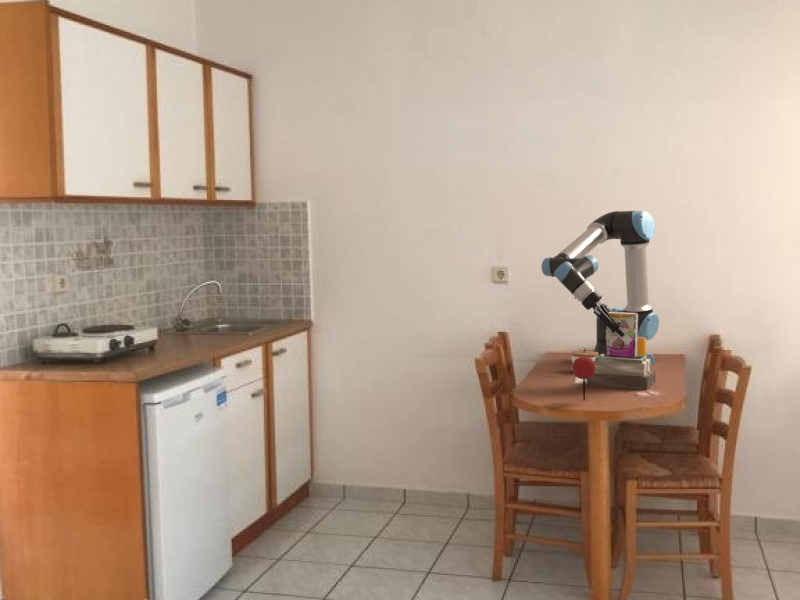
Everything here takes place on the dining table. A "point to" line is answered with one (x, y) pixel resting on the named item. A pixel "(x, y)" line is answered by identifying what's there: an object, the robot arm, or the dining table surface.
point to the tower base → (622, 381)
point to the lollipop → (583, 369)
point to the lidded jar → (584, 354)
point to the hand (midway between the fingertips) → (631, 341)
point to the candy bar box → (615, 343)
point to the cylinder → (643, 348)
